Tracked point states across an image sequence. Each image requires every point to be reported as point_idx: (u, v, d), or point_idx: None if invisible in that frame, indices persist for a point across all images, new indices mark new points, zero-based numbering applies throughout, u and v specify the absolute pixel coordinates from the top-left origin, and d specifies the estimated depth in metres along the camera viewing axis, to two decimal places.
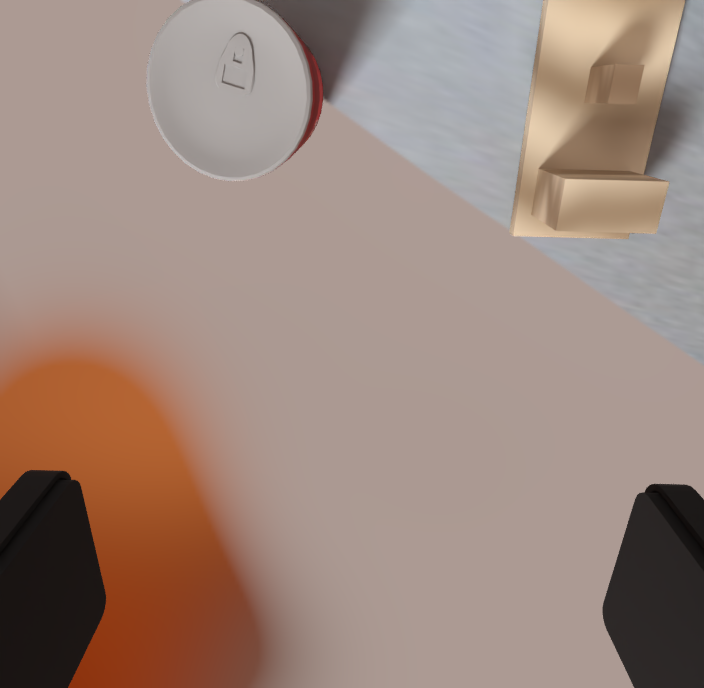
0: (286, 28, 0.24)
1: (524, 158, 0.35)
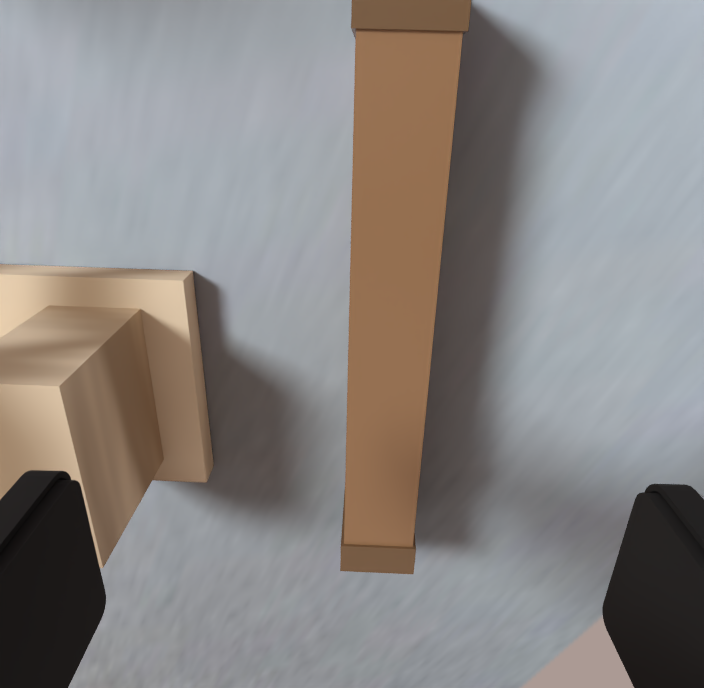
0: None
1: None
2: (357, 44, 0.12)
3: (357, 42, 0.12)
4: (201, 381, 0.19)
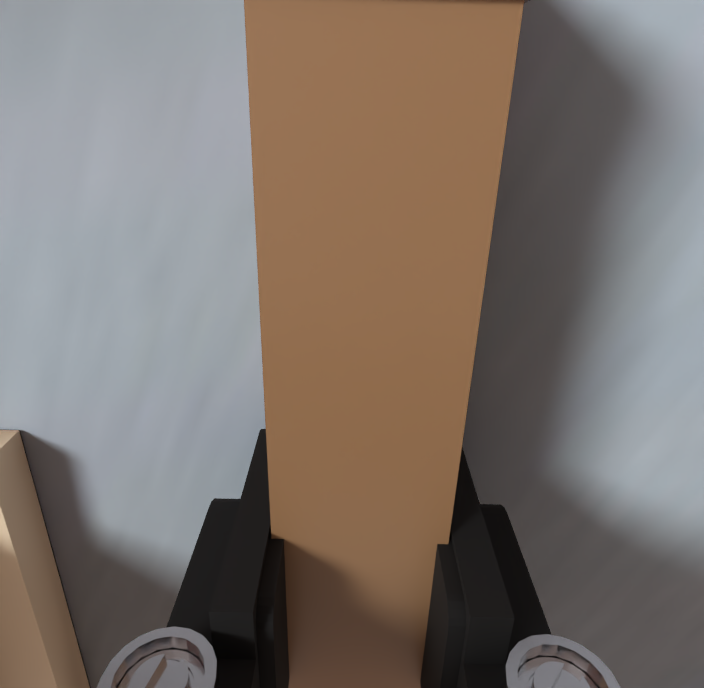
0: None
1: None
2: (251, 30, 0.05)
3: (251, 25, 0.05)
4: (53, 594, 0.12)
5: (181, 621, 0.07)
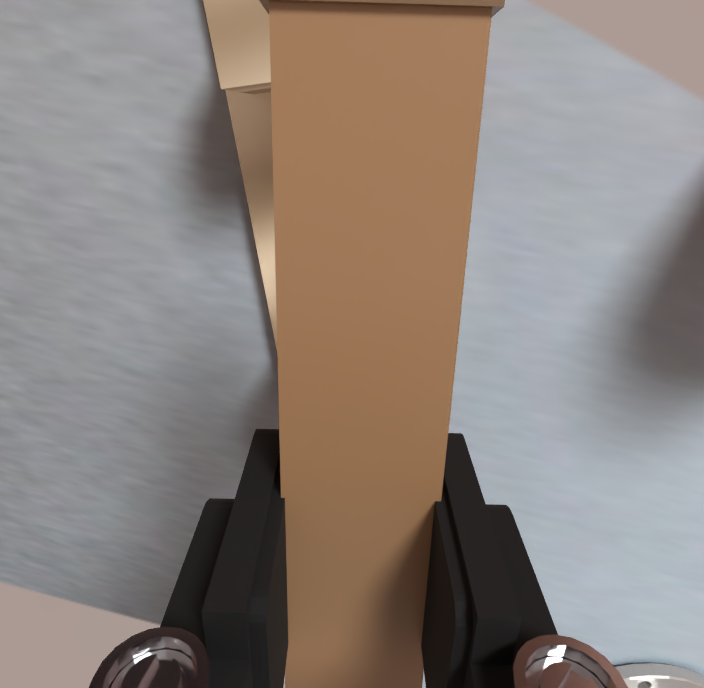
0: None
1: None
2: (273, 34, 0.06)
3: (273, 30, 0.06)
4: None
5: (175, 621, 0.07)
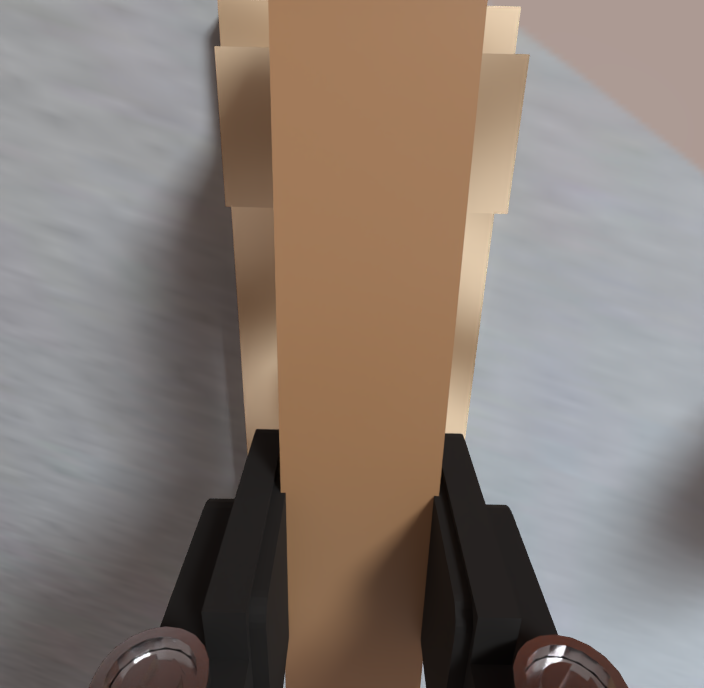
0: None
1: None
2: (272, 16, 0.06)
3: (272, 12, 0.06)
4: None
5: (175, 621, 0.07)
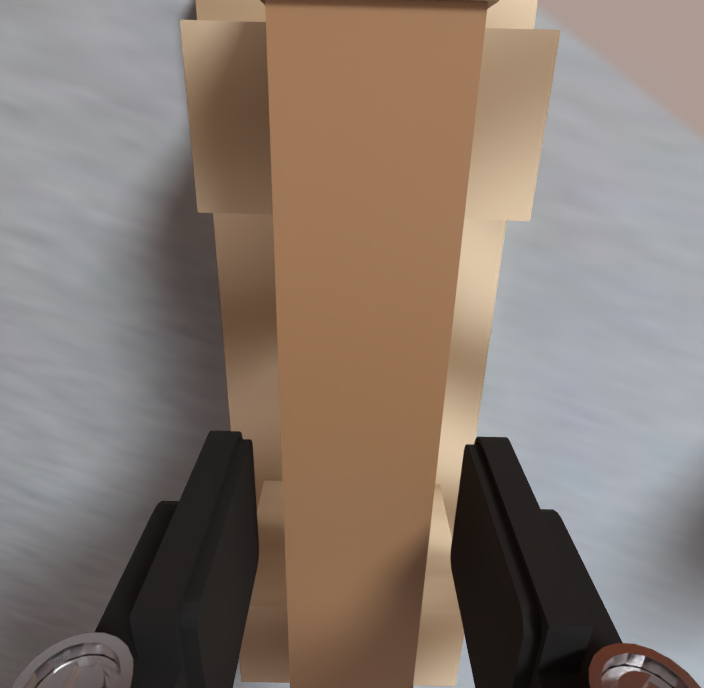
0: None
1: None
2: (270, 29, 0.06)
3: (270, 25, 0.06)
4: None
5: (110, 626, 0.07)
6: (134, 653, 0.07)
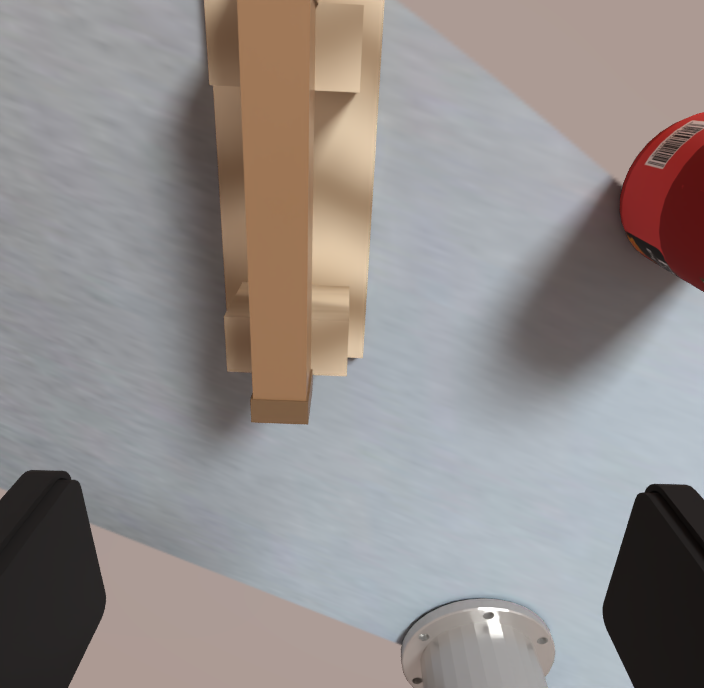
0: None
1: None
2: (238, 0, 0.18)
3: None
4: None
5: None
6: None
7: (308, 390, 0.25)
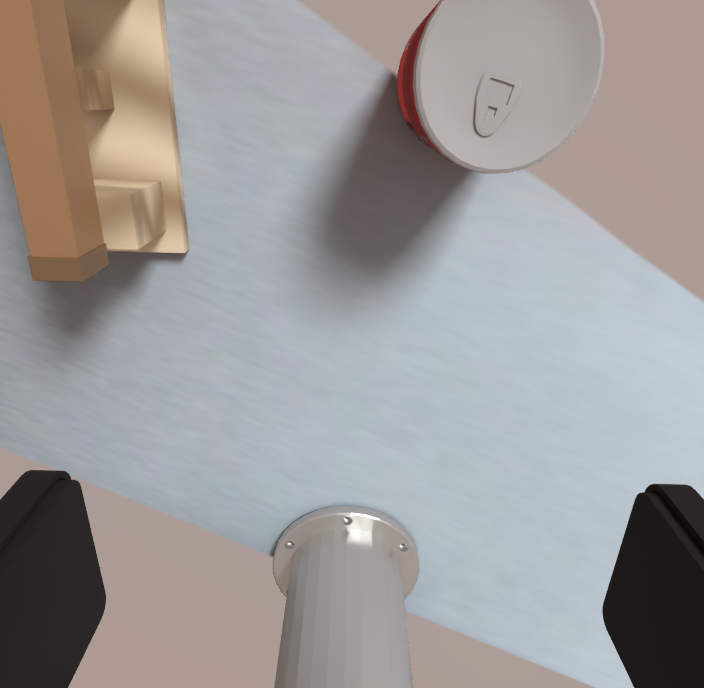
0: (436, 140, 0.23)
1: (158, 2, 0.29)
2: None
3: None
4: None
5: None
6: None
7: (87, 252, 0.28)
